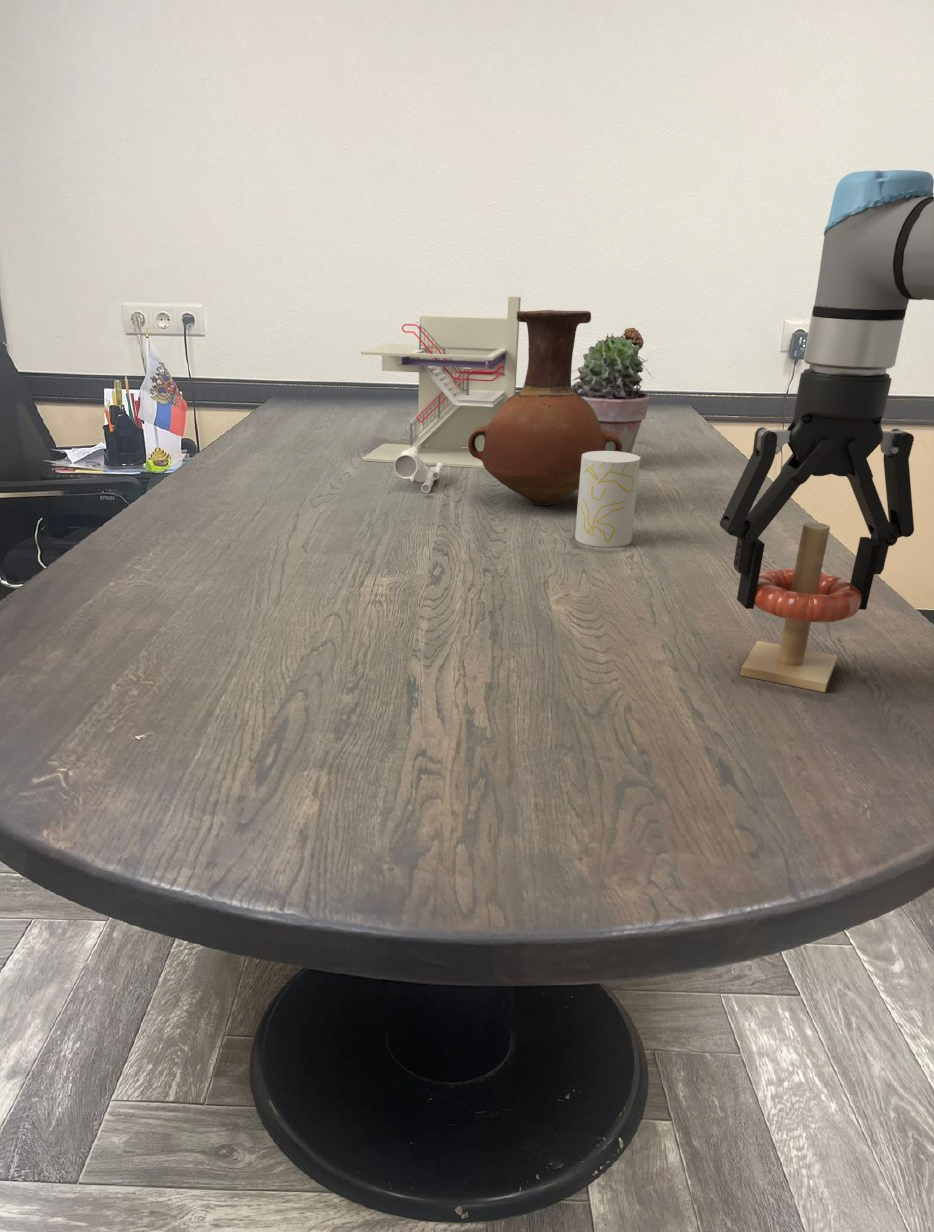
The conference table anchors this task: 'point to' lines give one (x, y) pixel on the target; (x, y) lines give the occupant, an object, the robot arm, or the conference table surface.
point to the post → (797, 627)
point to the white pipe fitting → (416, 469)
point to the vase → (543, 417)
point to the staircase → (454, 382)
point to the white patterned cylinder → (607, 498)
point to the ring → (806, 598)
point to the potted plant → (615, 386)
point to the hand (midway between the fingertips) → (800, 604)
